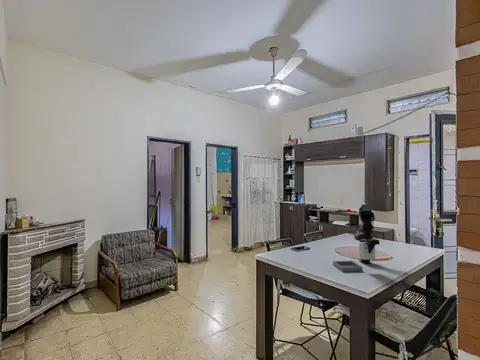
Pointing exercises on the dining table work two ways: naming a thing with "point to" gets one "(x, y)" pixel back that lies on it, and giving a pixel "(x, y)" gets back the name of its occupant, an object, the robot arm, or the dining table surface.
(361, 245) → the small box
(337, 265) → the charcoal tray
